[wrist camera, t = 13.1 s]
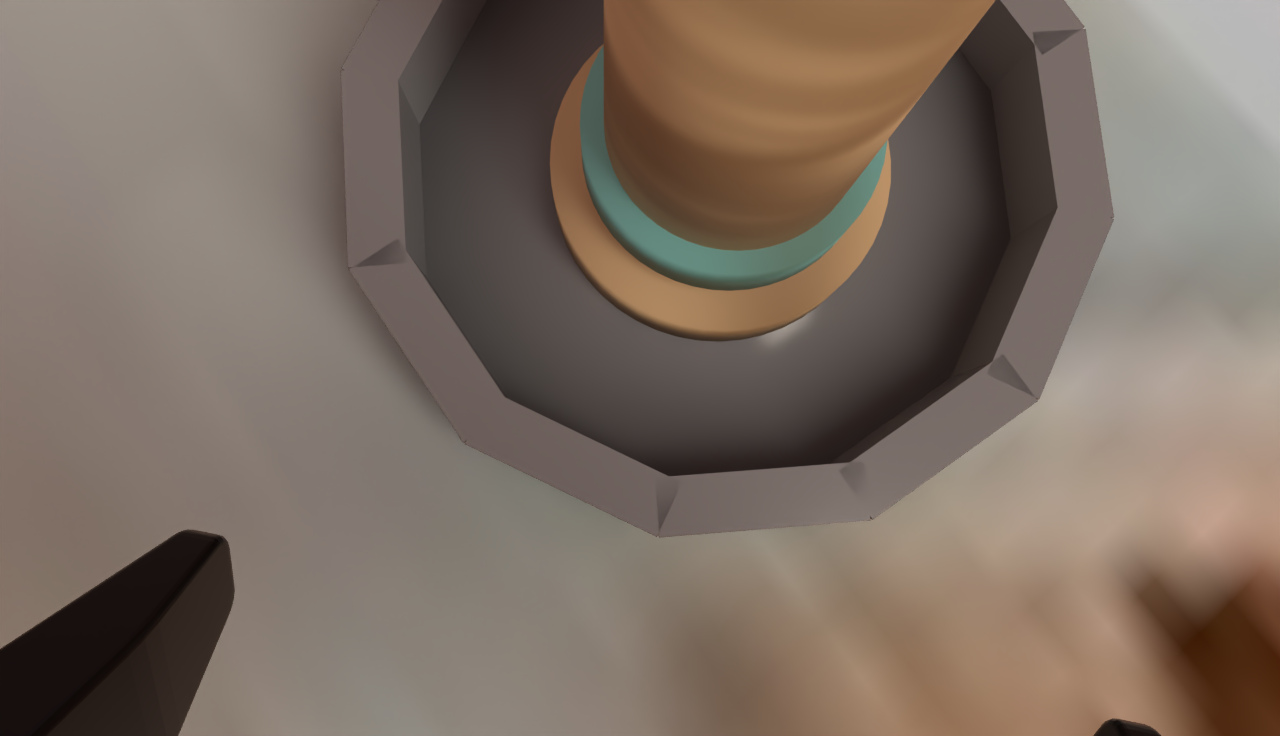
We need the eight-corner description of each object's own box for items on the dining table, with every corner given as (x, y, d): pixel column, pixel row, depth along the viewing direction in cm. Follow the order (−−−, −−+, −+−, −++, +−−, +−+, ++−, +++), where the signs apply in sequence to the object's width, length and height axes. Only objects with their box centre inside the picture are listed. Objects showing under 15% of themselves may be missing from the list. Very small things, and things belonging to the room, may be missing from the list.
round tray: (876, 642, 19) (927, 668, 16) (263, 345, 19) (201, 316, 16) (1123, 61, 21) (1209, -13, 18) (562, -199, 21) (555, -313, 18)
